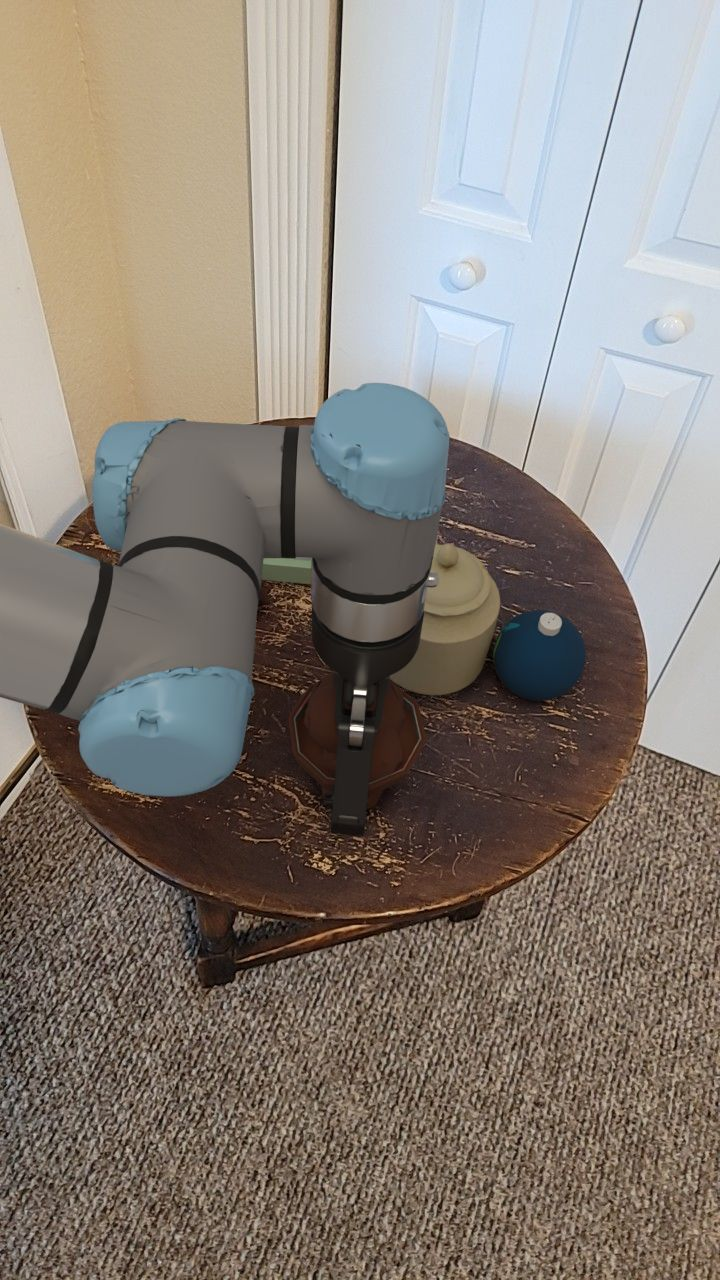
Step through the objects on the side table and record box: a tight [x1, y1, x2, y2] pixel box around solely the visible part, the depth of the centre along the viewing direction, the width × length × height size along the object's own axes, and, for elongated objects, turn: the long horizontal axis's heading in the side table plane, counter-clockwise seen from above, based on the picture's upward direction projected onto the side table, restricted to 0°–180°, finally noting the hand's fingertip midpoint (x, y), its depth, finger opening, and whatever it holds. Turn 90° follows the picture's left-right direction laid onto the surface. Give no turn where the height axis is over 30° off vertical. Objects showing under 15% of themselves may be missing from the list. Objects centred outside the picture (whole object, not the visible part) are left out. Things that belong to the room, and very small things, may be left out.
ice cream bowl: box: [287, 670, 428, 810], centre depth 75 cm, size 11×11×15 cm
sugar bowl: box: [390, 543, 501, 696], centre depth 85 cm, size 15×11×15 cm
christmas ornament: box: [492, 609, 587, 702], centre depth 85 cm, size 8×8×10 cm
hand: (353, 768), depth 79 cm, fingers closed on ice cream bowl, 11 cm apart
